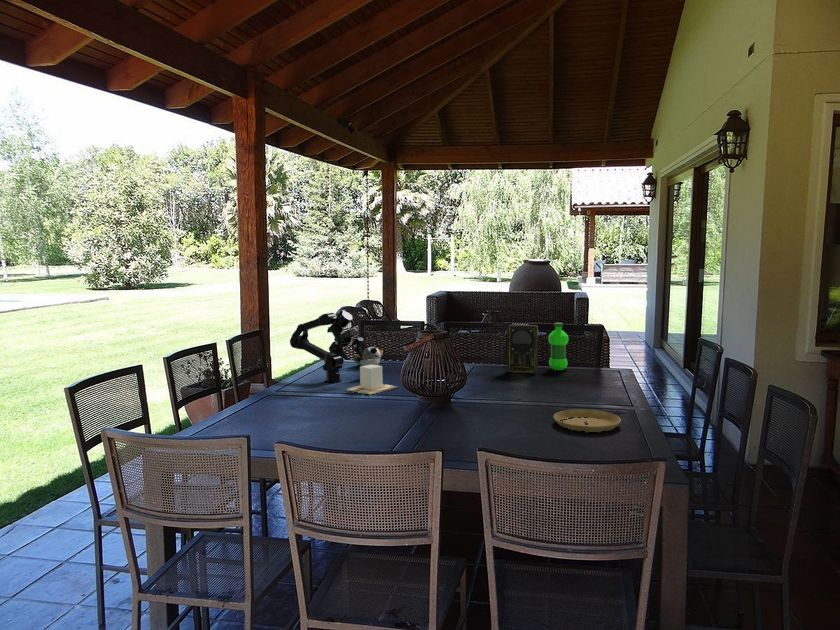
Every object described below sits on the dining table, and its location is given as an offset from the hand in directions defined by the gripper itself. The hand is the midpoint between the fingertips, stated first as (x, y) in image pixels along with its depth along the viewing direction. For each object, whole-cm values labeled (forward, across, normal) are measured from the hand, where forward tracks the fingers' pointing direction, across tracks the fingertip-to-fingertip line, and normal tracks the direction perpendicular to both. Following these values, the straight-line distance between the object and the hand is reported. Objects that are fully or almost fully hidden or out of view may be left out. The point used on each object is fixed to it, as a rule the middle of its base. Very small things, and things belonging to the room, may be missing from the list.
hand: (355, 358), depth 303 cm
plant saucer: (+92, +10, -72) cm, 118 cm away
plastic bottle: (+49, +94, -30) cm, 110 cm away
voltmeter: (+42, +77, -22) cm, 90 cm away
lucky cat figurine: (-13, +38, +32) cm, 51 cm away
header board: (+18, -1, +1) cm, 18 cm away
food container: (+5, +18, +15) cm, 24 cm away
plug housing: (+17, -1, +1) cm, 17 cm away
